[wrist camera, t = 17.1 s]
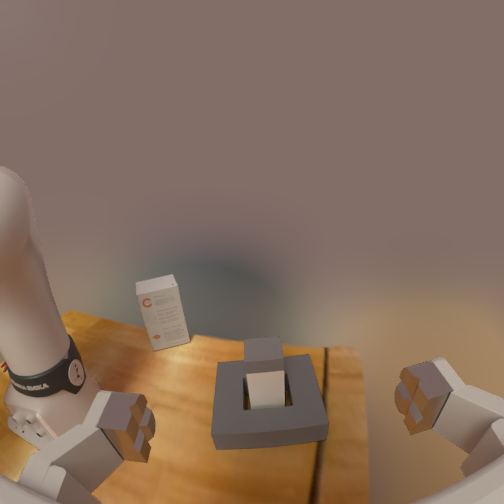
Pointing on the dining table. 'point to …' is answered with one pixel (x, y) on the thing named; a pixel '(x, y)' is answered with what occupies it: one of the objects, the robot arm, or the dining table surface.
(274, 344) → the plug
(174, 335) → the small box
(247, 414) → the socket block
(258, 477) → the dining table surface
